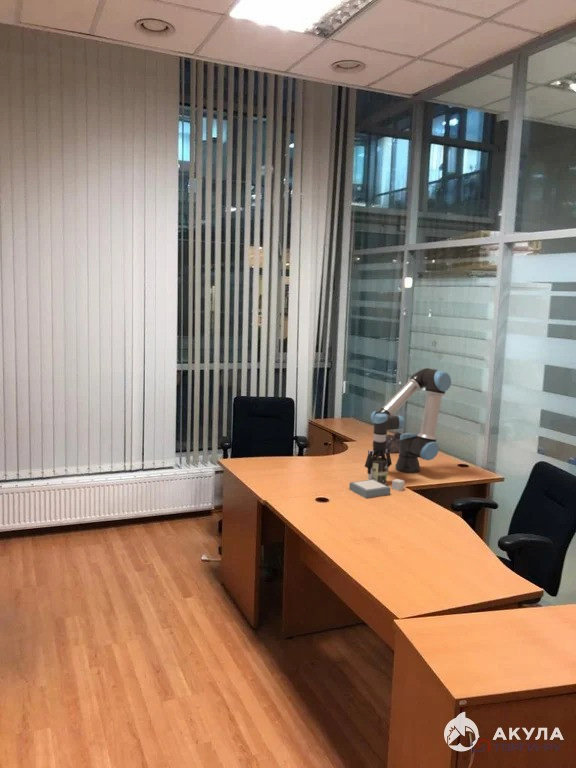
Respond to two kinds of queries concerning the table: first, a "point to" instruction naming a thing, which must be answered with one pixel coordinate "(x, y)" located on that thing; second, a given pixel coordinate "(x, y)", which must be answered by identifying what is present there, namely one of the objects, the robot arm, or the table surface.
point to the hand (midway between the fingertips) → (377, 478)
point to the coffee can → (379, 470)
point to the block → (398, 484)
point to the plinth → (369, 488)
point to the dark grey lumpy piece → (393, 442)
